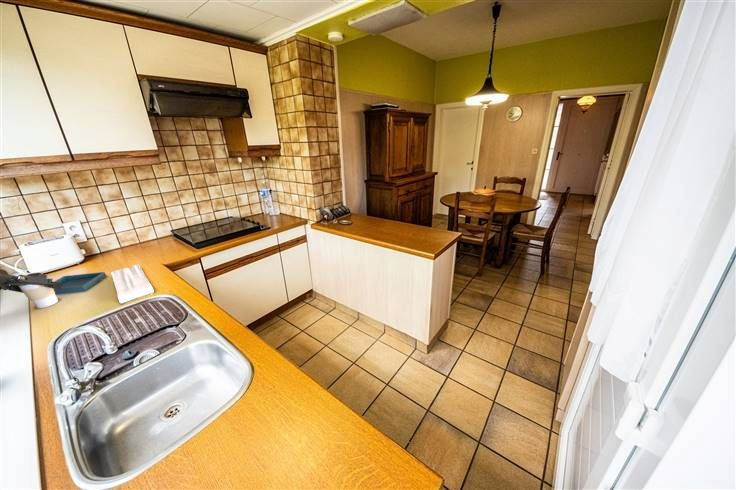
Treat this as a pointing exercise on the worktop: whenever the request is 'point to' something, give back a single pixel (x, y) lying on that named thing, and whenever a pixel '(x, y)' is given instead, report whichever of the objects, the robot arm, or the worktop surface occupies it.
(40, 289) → the coffee cup
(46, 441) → the worktop surface
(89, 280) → the tray
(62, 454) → the worktop surface
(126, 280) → the hand towel
